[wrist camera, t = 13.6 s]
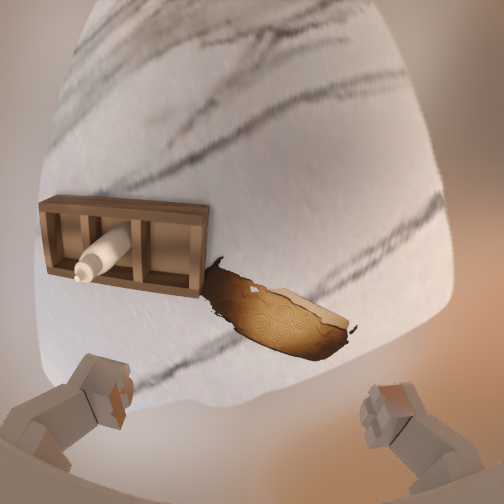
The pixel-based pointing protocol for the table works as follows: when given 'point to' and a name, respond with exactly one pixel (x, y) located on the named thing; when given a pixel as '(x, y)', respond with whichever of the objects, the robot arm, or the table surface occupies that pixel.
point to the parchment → (275, 316)
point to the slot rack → (143, 241)
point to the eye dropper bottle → (104, 253)
